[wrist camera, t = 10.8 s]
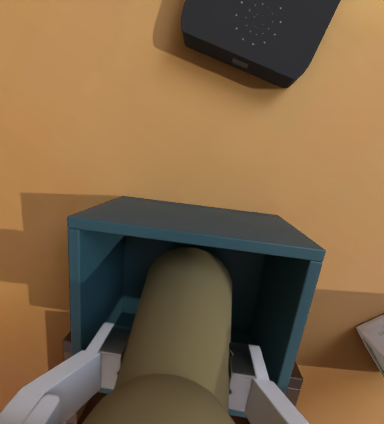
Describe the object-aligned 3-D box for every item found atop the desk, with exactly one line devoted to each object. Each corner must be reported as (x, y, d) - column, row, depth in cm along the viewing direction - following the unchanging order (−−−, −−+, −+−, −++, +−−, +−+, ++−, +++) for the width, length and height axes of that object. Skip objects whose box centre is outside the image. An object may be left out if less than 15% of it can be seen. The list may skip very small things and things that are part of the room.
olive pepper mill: (128, 285, 15) (-85, 609, 4) (187, 228, 13) (109, 482, 3) (188, 339, 15) (144, 740, 5) (251, 290, 14) (387, 691, 3)
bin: (253, 332, 18) (277, 423, 12) (118, 311, 19) (71, 388, 12) (278, 215, 16) (326, 250, 9) (122, 195, 16) (66, 216, 10)
